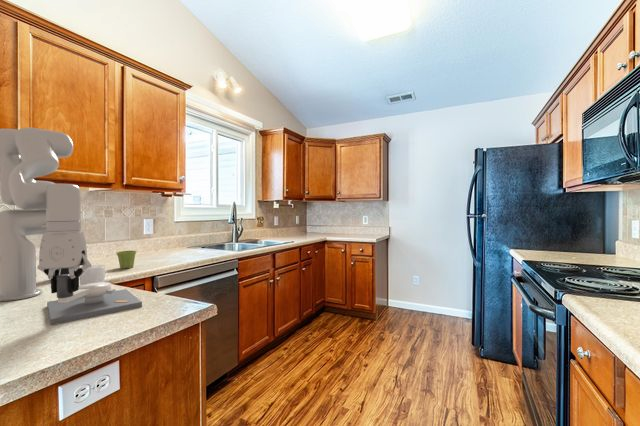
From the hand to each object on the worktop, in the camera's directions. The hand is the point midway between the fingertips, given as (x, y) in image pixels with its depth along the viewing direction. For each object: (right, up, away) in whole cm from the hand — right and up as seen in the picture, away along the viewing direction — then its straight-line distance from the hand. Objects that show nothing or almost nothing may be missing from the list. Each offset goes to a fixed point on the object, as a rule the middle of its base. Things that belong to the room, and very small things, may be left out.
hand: (65, 291), depth 86 cm
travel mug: (-45, -8, +52) cm, 70 cm away
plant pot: (-32, -8, +78) cm, 84 cm away
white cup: (-13, -8, +28) cm, 32 cm away
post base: (-1, -8, +12) cm, 15 cm away
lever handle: (0, -4, +8) cm, 9 cm away
